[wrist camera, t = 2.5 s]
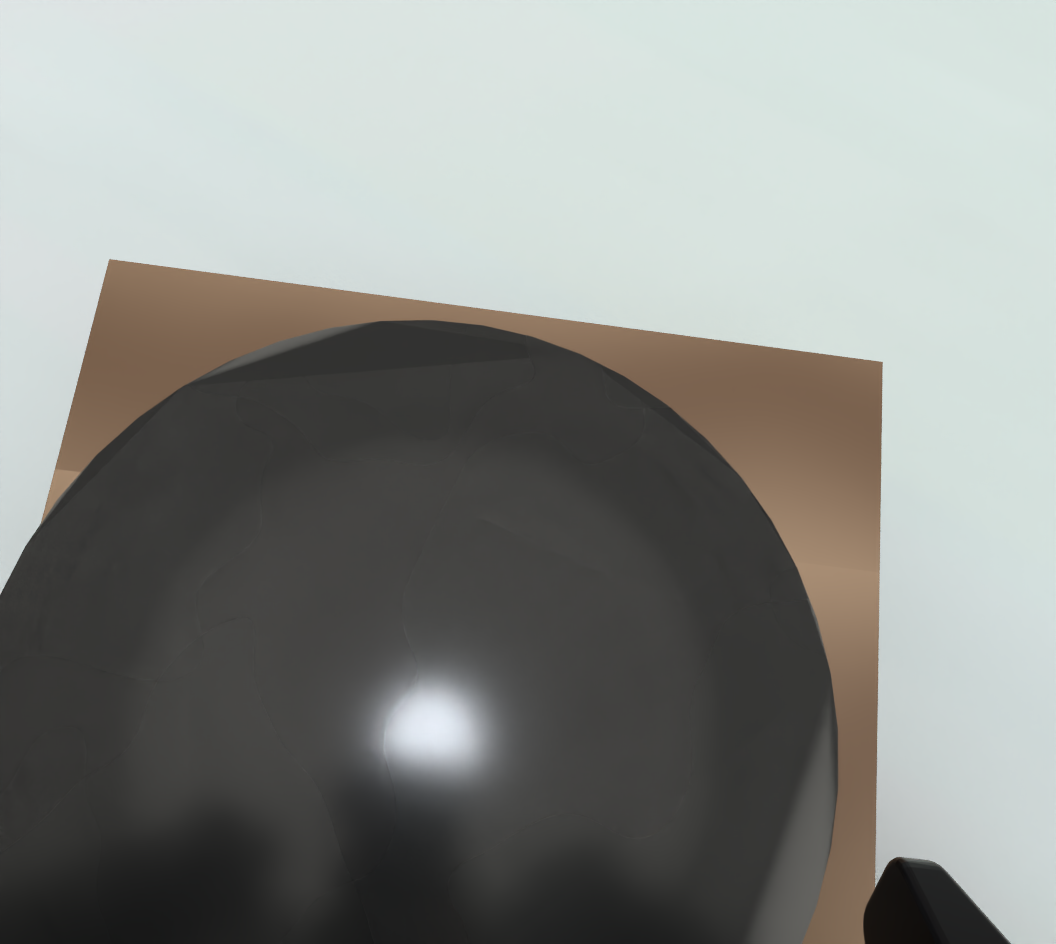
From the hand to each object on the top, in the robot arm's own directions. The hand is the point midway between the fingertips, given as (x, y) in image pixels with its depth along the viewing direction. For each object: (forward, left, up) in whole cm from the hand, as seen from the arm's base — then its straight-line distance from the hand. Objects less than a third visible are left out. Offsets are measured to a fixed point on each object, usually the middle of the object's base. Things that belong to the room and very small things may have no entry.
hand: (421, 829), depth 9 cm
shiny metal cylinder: (+1, +1, -9) cm, 9 cm away
